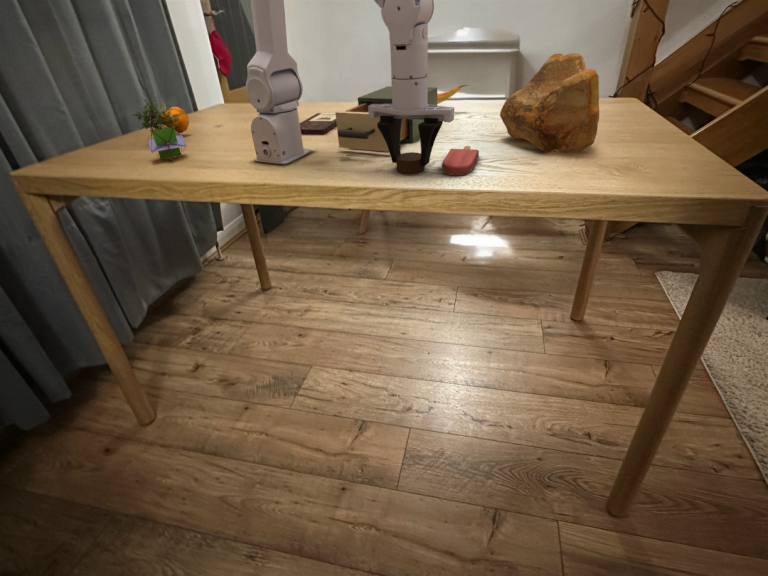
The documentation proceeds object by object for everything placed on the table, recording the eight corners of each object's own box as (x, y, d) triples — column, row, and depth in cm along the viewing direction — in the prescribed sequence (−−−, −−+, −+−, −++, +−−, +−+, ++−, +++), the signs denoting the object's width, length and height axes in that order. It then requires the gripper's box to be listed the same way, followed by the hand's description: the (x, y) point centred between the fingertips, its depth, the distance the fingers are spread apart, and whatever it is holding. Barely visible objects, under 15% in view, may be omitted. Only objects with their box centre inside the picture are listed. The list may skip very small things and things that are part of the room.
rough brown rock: (496, 131, 98) (496, 58, 90) (573, 123, 95) (581, 47, 87) (505, 166, 80) (506, 78, 71) (601, 158, 76) (615, 65, 68)
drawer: (379, 158, 80) (377, 119, 76) (327, 153, 84) (323, 116, 80) (416, 134, 93) (415, 101, 89) (369, 131, 97) (367, 99, 94)
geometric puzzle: (190, 151, 86) (176, 113, 86) (153, 157, 83) (139, 118, 83) (191, 165, 93) (179, 130, 93) (157, 171, 90) (145, 135, 90)
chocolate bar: (288, 129, 102) (317, 113, 117) (289, 133, 103) (318, 116, 117) (323, 129, 100) (348, 113, 114) (324, 134, 101) (349, 117, 115)
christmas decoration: (216, 148, 117) (177, 150, 98) (173, 135, 116) (127, 135, 97) (221, 111, 113) (182, 105, 94) (177, 98, 113) (129, 90, 94)
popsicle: (481, 143, 82) (470, 167, 71) (481, 151, 83) (470, 176, 71) (454, 142, 84) (438, 166, 72) (454, 150, 85) (438, 175, 73)
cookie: (418, 176, 73) (418, 161, 71) (391, 173, 75) (391, 159, 73) (429, 167, 77) (429, 153, 75) (403, 165, 79) (403, 151, 77)
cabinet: (412, 143, 91) (412, 99, 86) (360, 139, 96) (357, 97, 91) (436, 127, 101) (437, 87, 97) (388, 124, 106) (387, 86, 102)
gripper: (461, 73, 68) (457, 159, 75) (379, 72, 73) (383, 152, 81) (446, 80, 62) (444, 172, 70) (359, 79, 68) (366, 164, 75)
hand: (410, 162), depth 75 cm, fingers closed on cookie, 5 cm apart
